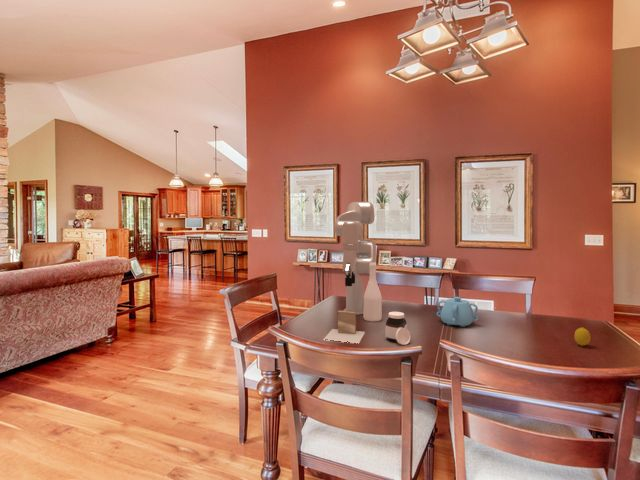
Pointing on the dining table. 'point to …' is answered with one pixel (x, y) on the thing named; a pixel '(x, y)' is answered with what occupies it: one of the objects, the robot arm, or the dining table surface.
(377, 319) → the wine bottle
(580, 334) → the lemon
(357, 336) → the mat
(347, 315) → the slab
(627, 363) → the dining table surface
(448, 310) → the decorative pot
